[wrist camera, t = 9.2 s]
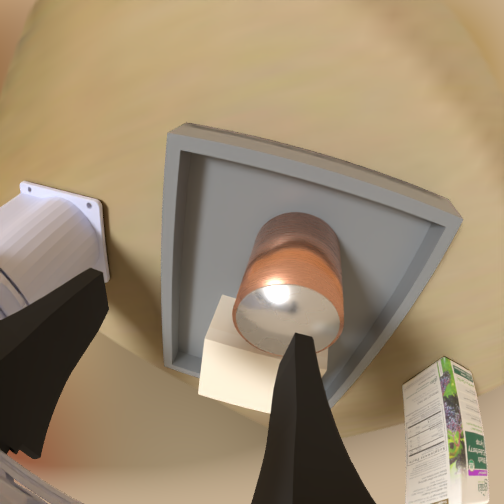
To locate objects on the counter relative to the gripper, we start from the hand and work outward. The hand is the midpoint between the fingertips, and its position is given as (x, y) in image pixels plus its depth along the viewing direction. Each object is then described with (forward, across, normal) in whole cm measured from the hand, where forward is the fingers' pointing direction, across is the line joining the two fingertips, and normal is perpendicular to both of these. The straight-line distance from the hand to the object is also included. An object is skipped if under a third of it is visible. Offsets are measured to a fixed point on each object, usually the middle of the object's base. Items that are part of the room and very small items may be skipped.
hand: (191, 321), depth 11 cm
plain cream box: (+9, -4, +11) cm, 15 cm away
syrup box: (+10, -22, +12) cm, 27 cm away
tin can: (+9, -4, +2) cm, 10 cm away
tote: (+10, -4, +6) cm, 12 cm away
